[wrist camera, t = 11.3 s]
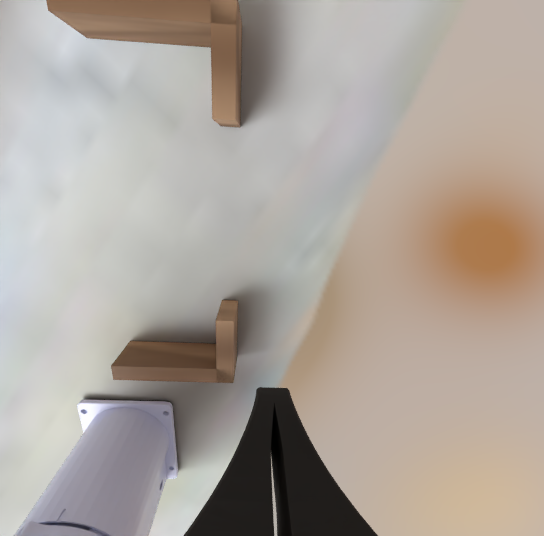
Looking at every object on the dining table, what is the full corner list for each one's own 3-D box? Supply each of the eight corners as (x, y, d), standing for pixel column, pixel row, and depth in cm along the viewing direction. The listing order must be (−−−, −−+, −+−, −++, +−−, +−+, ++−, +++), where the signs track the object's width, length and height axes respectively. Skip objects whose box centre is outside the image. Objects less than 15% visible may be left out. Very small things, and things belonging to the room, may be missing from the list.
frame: (237, 356, 23) (233, 382, 20) (132, 353, 23) (113, 379, 20) (241, 23, 16) (236, -8, 13) (83, 11, 15) (42, -24, 12)
